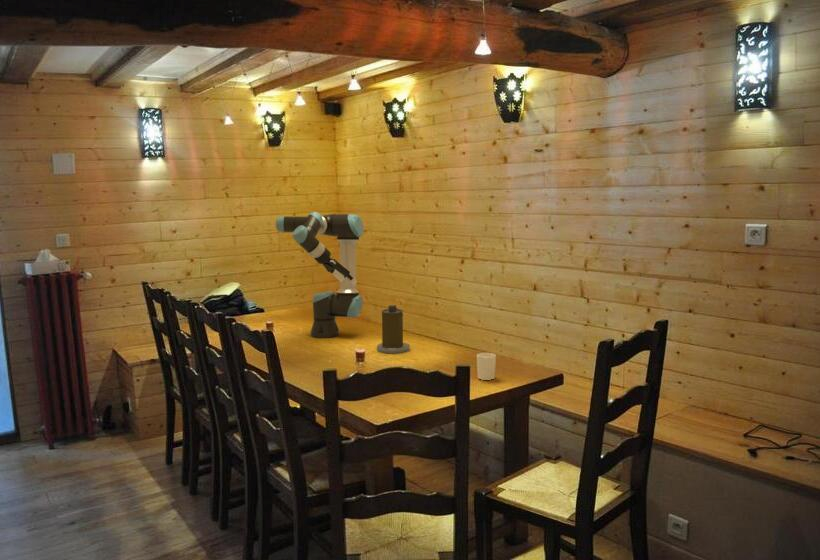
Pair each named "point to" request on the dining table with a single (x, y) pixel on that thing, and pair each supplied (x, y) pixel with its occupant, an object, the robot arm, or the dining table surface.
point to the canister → (392, 327)
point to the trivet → (393, 349)
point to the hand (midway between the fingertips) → (349, 281)
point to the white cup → (486, 365)
